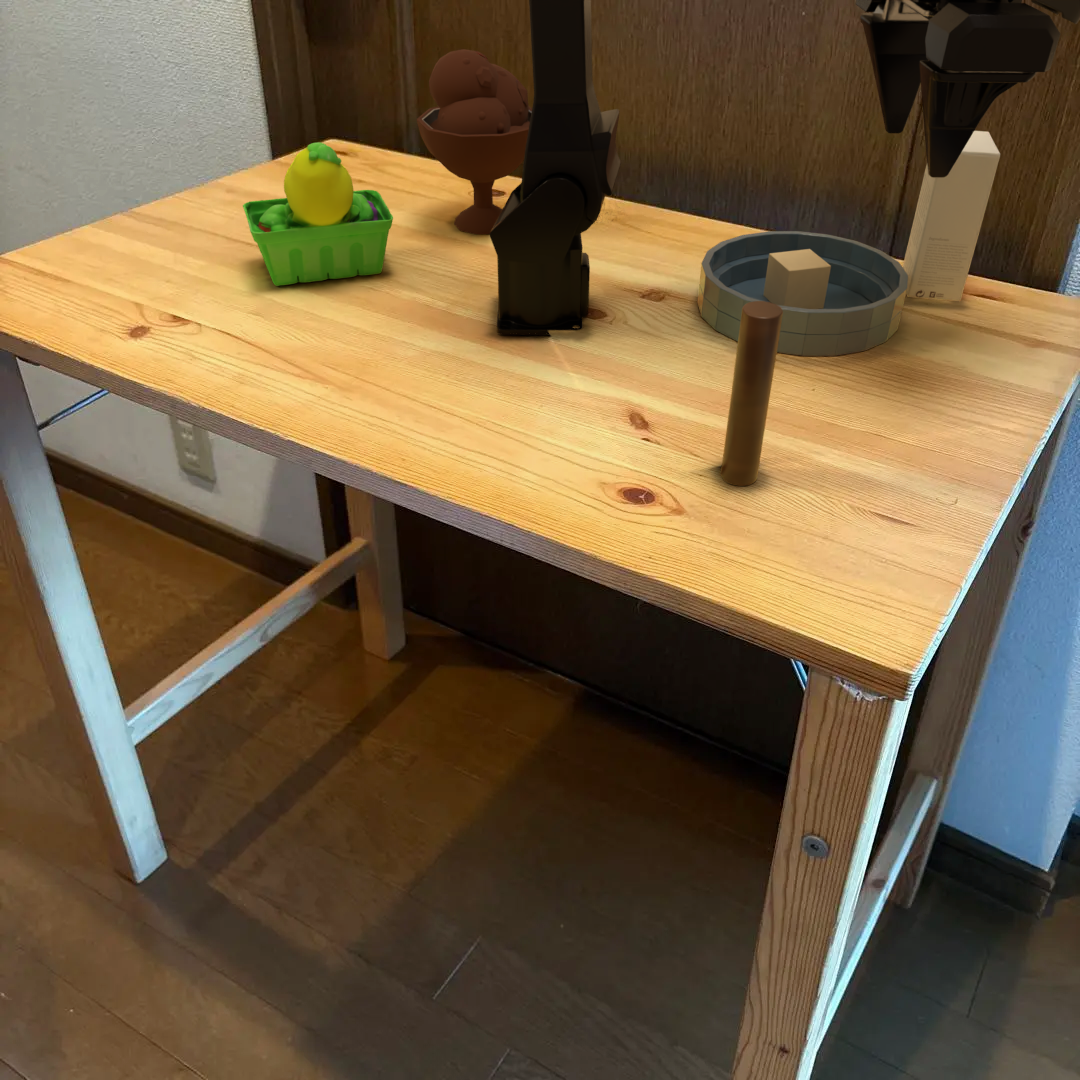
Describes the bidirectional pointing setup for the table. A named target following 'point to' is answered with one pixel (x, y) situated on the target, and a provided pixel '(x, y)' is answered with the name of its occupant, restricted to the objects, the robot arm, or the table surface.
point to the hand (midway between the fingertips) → (914, 153)
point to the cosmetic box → (950, 222)
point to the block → (797, 279)
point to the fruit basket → (320, 223)
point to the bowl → (839, 328)
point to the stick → (751, 391)
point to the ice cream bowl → (476, 128)
